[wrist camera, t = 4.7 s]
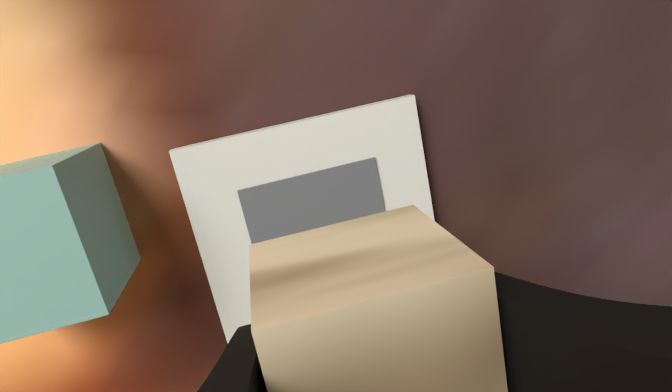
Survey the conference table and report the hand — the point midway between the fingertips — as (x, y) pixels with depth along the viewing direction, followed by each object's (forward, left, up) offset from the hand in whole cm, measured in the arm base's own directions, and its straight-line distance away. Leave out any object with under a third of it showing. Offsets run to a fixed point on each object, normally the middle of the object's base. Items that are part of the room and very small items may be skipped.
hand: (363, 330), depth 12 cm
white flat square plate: (0, 0, -8) cm, 8 cm away
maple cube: (0, 0, -2) cm, 2 cm away
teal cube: (+3, +9, -8) cm, 12 cm away
